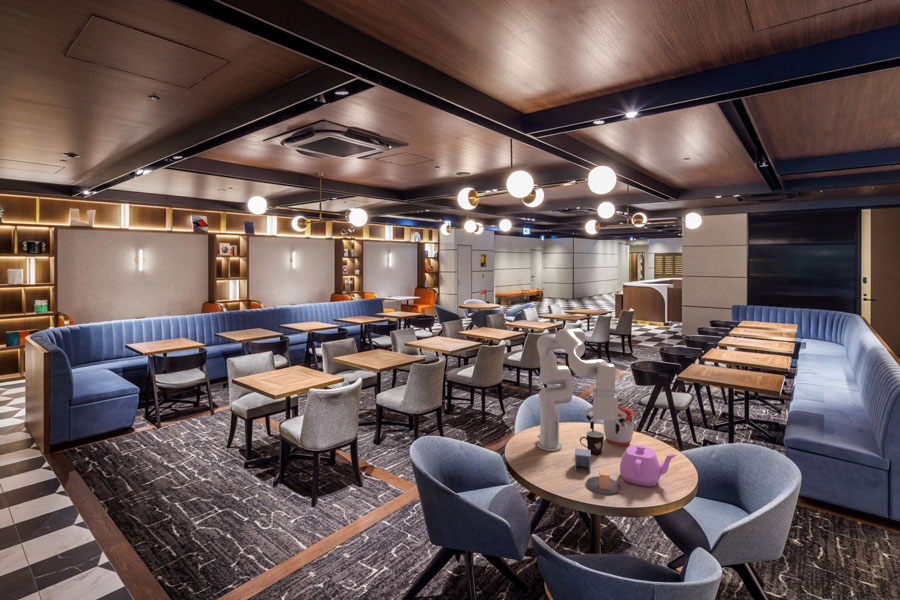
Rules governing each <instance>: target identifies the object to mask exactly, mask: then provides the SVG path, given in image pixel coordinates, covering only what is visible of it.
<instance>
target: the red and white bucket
mask: <svg viewBox="0 0 900 600" xmlns="http://www.w3.org/2000/svg"><path fill="white" fill-rule="evenodd" d="M618 409H619V410H620V411H622V412H624V413H626V414H627V417H626V418H625V420H624V421H623V422H622V423H621V424H620V427H619V431H618V434H616V432H615V428H616V422H615V421H609V420H603V434H604V438H605V439H606V441H607V442H608V443H609V444H610V445H614V446H616V445H618V446H620V447H621V446H624V447H626V446H629V445H630V443H631V441H632V438H633V435H634V429H635V423H634V422H635V411H633V410H632V409H630V408H626V407H622V406H621V405H618ZM620 418H622V415H620V414H619V413H618V419H620Z"/></svg>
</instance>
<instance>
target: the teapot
mask: <svg viewBox="0 0 900 600" xmlns="http://www.w3.org/2000/svg"><path fill="white" fill-rule="evenodd" d="M677 456H678V455H677V454H674V453H673V454H672V453H671V454H668V455H666V457H665V459H664V462H663V463H662V464H660V461H659V459H658V456H657V453H656V452H655V449H653V448H651V447H646V446H645V445H643V444H638V445H635V444H631V445H628V447H627V448H626V449H625V451H624V453H623V455H622V458H621V461H620V465H619V471H620V472H619V473H620V475H621V477H622V479H623V480H624V481H625V482H628V483H631V484H634V485H638V486H645V487H654V486H655V485H656V484H657V483H658V481H660V479H661V476H662V475H665V474H666V473H667V471H668V470H669V466H670V463H671V460H672V459H674V458H675V457H677Z"/></svg>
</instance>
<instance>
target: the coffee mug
mask: <svg viewBox="0 0 900 600" xmlns="http://www.w3.org/2000/svg"><path fill="white" fill-rule="evenodd" d="M585 434H586V437H585V436H582V437H580V438H579V444H580V445H582V446H583V447H585V448H586V449H587V450H590V451H591V456H593V455H594V456H595V457H600V456H602V453H603V446H604V438H605V433H604V432H601V431H598V430H594V431H593V432H592V430H588V431H586V433H585ZM583 439H585V440H586V443H587V446H586V445H585V444H583V443H582V440H583ZM599 455H600V456H599Z"/></svg>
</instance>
